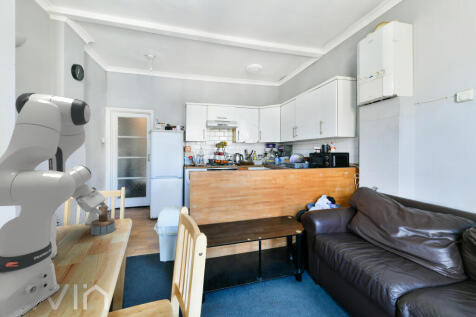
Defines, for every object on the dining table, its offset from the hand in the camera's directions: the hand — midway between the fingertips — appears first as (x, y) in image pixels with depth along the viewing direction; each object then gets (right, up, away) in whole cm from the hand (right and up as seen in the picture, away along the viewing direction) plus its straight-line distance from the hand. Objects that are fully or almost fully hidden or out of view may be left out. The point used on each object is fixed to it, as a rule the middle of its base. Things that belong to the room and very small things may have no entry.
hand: (104, 211), depth 112 cm
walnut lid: (-1, -7, 0) cm, 7 cm away
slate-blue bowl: (-1, -11, 0) cm, 11 cm away
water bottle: (-5, -12, -29) cm, 32 cm away
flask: (-15, -11, +12) cm, 22 cm away
